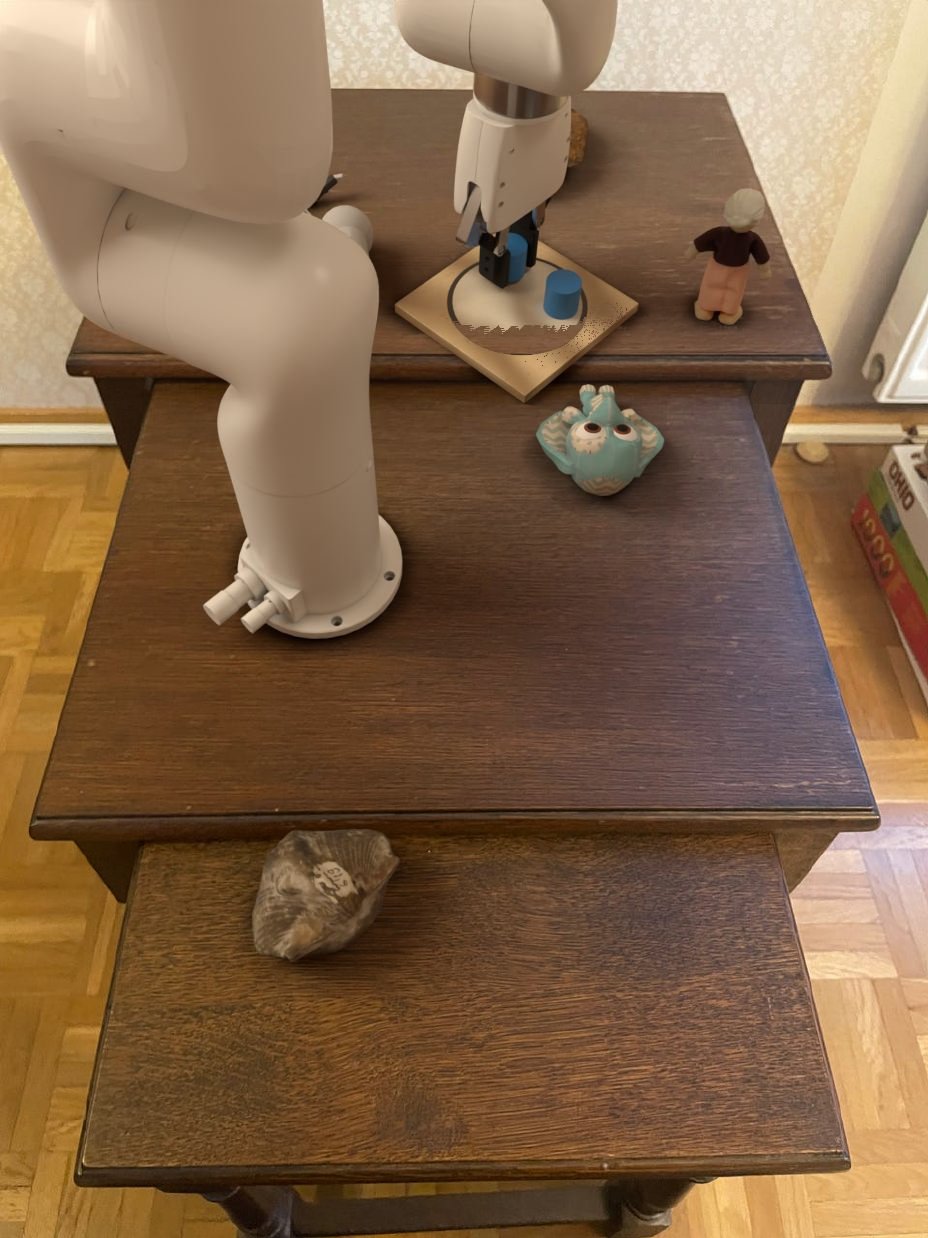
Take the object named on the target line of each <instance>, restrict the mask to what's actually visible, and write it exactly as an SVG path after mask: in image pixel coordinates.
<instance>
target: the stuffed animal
mask: <svg viewBox="0 0 928 1238" xmlns="http://www.w3.org/2000/svg"><path fill="white" fill-rule="evenodd" d="M579 399H580V403H581V405H582V411H581V410H580V409H579V408H576V407H574V406H567V407H565V408H564V409H563V410H559V411H556V412H554V413H553V414H551V415H550V416H549V417H547V419H545V420H543V421H542V422H541V423H540V425H539V427H538V429H537V431H536V433H535V436H536V438H537V440H538V442H539V445H540V447H541V448H542V450H543V452H544V454H545V455H546V456H547V457H548V458H549V459H550V460H551V461H552V462H553V463H554V465H555V466H556V467H557V469H558V470H559V471H560V472H562V473H563V474H564V475H570V476H571V478H572V480H573V482H575V483H576V485H577V486H578V487H579V488H580V489H581V490H582V491H584V492H586V493H589V494H591V495H595V496H600V497H605V496H606V497H607V496H611V495H614V494H617V493H619V492H620V491H621V490H623V489H625V488H626V487H627V486H628V485H629V484H630V483H632V481H633V480H634V478H640V477H641V475H642V474H643V472H644V470H645V469H646V467H647V466H648V465H649V464H650V463H651V461H652V460H653V459H654V458H655V457H656V456H657V454H658V453H659V452H660V451H661V450H662V448H663V447H664V443H665V438H664V437H663V436H662V434H661V432H660V431H659V429H658V428H657V427H656V426H655V425H653V424H652V423H651V422H650V421H648V420H646V419H645V418H644V417H642V416H640V415H639V414H637V412H636V411H635V410H633V408H626V409H623V410H622V411H621V409H620V407H619V406H618V404H617V402H616V393H615V390H614V387H613V386H611V385H608V384H605V385H601V386H600V387H599V389H598V390H597V391H596V388H595V386H594V385H592V384H589V383H588V384H584V385H582V386H581V388H580V389H579Z"/></svg>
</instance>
